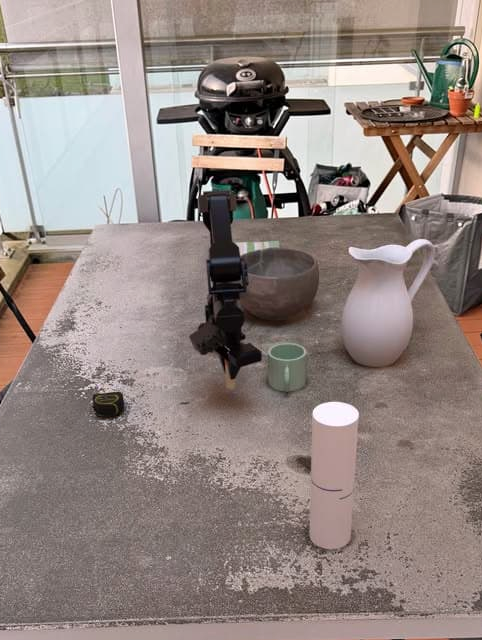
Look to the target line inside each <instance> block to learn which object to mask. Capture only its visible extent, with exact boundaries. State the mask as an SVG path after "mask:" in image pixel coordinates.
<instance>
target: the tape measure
mask: <svg viewBox="0 0 482 640" xmlns="http://www.w3.org/2000/svg"><path fill="white" fill-rule="evenodd" d="M92 409H93V412H94V413H96V415H98V416H100V417H113V416H116V415H119V414H121V413H122V412H123V411H124V409H125V400H124V394H123V392H121V391H110V392H102V393H95V394H92Z"/></svg>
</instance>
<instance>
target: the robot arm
mask: <svg viewBox="0 0 482 640" xmlns="http://www.w3.org/2000/svg"><path fill="white" fill-rule="evenodd" d="M197 203H198V213H199V214H201V218H202V223H203V225H204V226H205V227H206V229H207V230H208V232H209V246H210V247H209V248H208V259H205V266H206V278H207V279H206V280H207V289H208V293H207V295H206V300H207V301H206V302H207V303H206V304H204V315H205V322H201V323H200V324H199V326H197V330H195V331H193V332H192V333H191V334H190V335H189V336H188V338H189V341H190V343H191V344H192V347H193V348H194V350H195V351H197V352H198V353H199V354H200V355H201V356H205V355H207V354H209V353H213V352H215V353H216V354H217V357H218V358H219V361H220V364H221V366H222V370H223V372H224V375H225V376H226V369H225V360H226V361H227V364H228V370H229V375H230V379H231V380H233V379H235V380H236V378H237V377H238V374H239V372H240V370H241V369H242V368H243V367H247V366H250V365H253V364H256V363H260V362H262V360H263V351H262V350H260V348H258V347H257V346H255V345H254V344H252V343H251V342H247V343H246V342H243V341H244V340H246V336H247V335H246V334H245V333H244V332H242V331H243V330H242V328H243V326H244V324H245V322H246V316H245V312H244V310H243V307H242V303H241V300H240V293H245V292H246V286H248V285H249V282H248V271H247V263H246V262H245V259H244V258H241V257H240V250H239V247H238V246H237V245H236V244H235V243H234V242H235V241H233V234H232V233H233V232H232V226H231V225H232V224H233V223H234V212H237V194H236V193H231V192H230V190H229V189H223V190H222V189H221V190H204V191H202V194H200V195H198V197H197ZM241 276H242V284H243V286H241V283H234V281H240V280H241ZM226 353H227V354H226Z"/></svg>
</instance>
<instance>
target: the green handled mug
mask: <svg viewBox="0 0 482 640" xmlns="http://www.w3.org/2000/svg"><path fill="white" fill-rule="evenodd" d="M267 378H268V379H267V381H268V386H269V387H270V388H272V389H274V390H276V391H279V392H285V393H288V392H294V391H298V390H300V389H302V388H303V387H305V386H306V383H307V349H306V348H305V347H304V346H302V345H301V344H297V343H292V342H281V343H277V344H274V345H272V346H270V348H269V349H267Z"/></svg>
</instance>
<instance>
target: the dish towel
mask: <svg viewBox="0 0 482 640" xmlns="http://www.w3.org/2000/svg"><path fill="white" fill-rule="evenodd" d="M233 242H234V243H235V244H236V245H237V246H238V247H239V250H240V256H241V255H243V254H245V253H248V252H251V251H255V250H262V249H265V248H271V247H280V241H279V240H271V241H247V242H246V241H243V242H242V241H241V242H240V241H233Z"/></svg>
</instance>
